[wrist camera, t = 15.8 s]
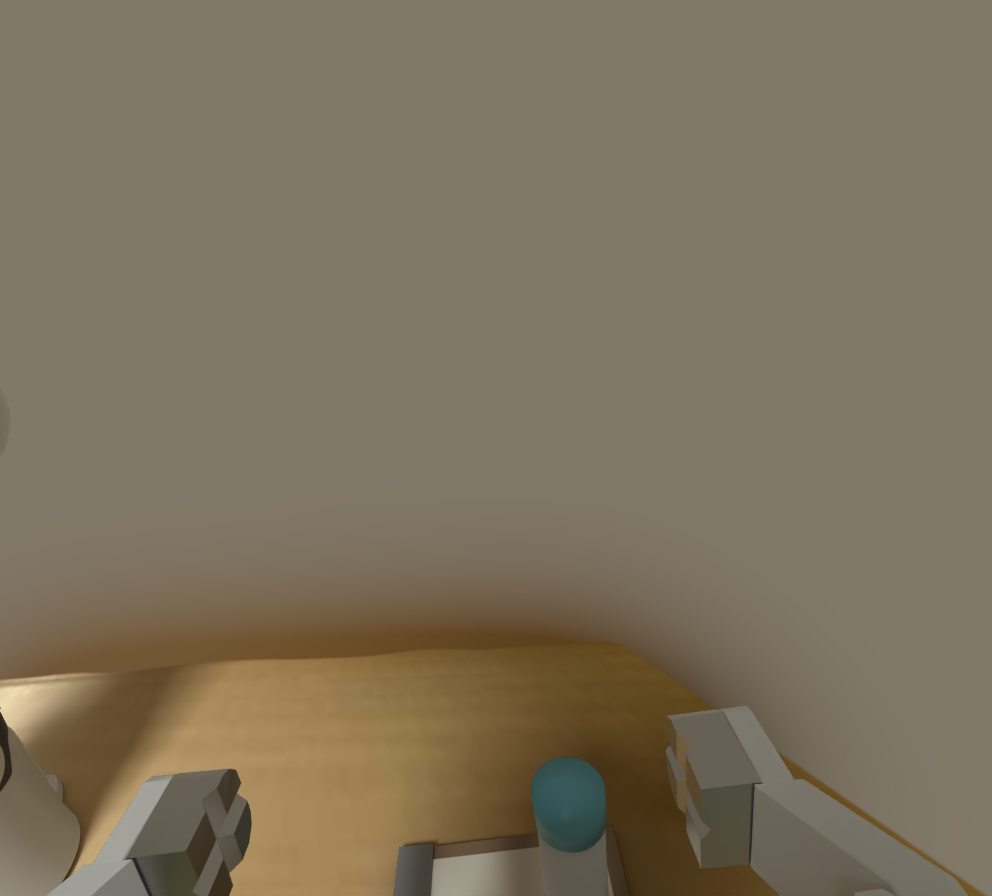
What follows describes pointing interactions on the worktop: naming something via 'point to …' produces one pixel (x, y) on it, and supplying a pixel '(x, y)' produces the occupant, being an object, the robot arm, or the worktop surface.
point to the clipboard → (488, 868)
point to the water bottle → (571, 827)
